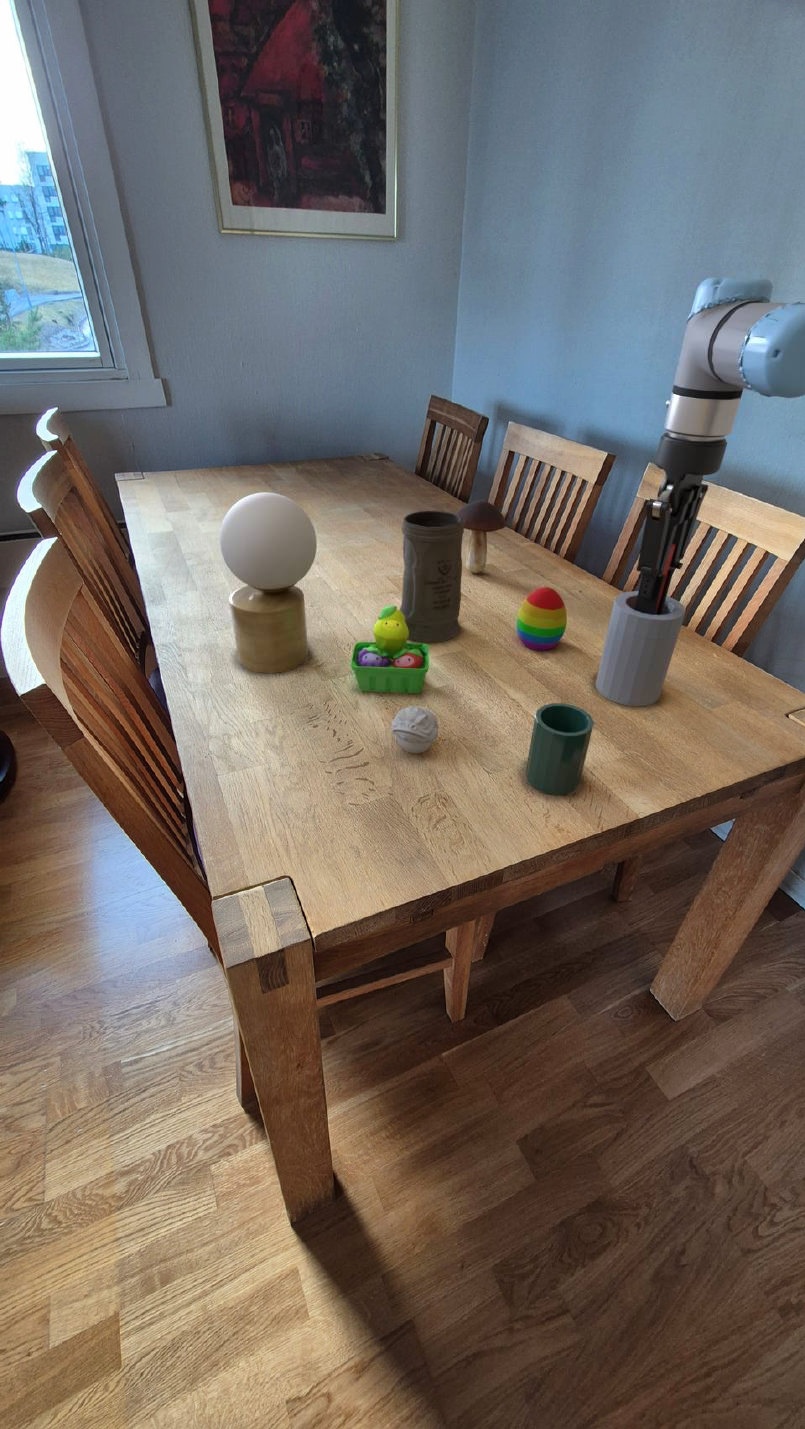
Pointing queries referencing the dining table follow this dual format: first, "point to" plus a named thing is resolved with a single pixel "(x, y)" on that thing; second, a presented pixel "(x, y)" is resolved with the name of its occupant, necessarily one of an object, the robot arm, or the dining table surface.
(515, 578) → the dining table surface
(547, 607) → the decorative egg
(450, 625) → the dark grey hollow cylinder
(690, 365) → the robot arm
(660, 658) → the vase
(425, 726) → the grey wrinkled ball
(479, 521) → the decorative mushroom
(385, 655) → the fruit basket
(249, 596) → the lamp
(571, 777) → the pen pot
